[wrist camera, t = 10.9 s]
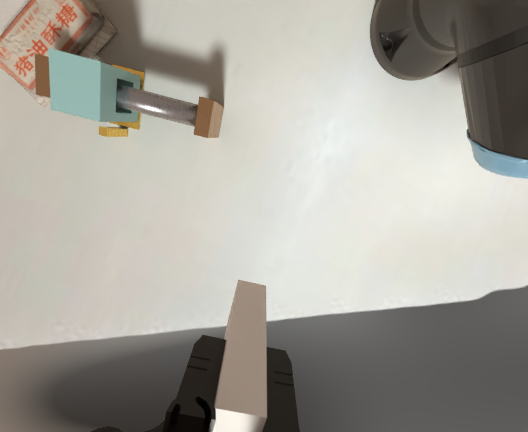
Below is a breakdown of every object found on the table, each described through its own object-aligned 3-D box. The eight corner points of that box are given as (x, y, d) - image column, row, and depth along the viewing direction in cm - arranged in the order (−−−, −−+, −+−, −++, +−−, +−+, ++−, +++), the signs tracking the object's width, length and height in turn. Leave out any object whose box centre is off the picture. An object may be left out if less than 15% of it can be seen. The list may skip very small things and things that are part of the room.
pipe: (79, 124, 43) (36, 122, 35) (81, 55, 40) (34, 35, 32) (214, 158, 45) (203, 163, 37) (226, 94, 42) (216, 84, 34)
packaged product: (42, -54, 33) (101, 19, 35) (69, -30, 37) (120, 32, 40) (-37, 45, 36) (22, 105, 38) (-3, 55, 41) (48, 108, 43)
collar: (100, 112, 41) (50, 109, 32) (100, 65, 39) (48, 47, 29) (137, 121, 41) (99, 121, 32) (140, 76, 39) (100, 61, 30)
